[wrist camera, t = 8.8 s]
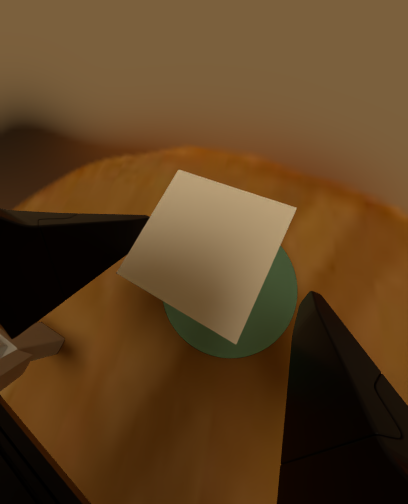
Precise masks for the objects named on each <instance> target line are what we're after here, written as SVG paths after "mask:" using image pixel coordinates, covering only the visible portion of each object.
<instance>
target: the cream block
mask: <svg viewBox="0 0 408 504" xmlns="http://www.w3.org/2000/svg"><path fill="white" fill-rule="evenodd" d="M296 209H297V208H295V207H292V206H289V205H286V204H283V203H280V202H277V201H274V200H271V199H268V198H264V197H261V196H258V195H255V194H252V193H249V192H246V191H243V190H240V189H237V188H234V187H231V186H228V185H224V184H221V183H218V182H215V181H212V180H209V179H206V178H203V177H200V176H197V175H194V174H191V173H187V172H184V171H181V170H178V172H177V173H176V175H175V177H174V178H173V180H172V182H171V183H170V185H169V187H168V188H167V190H166V191H165V193H164V195H163V196H162V198H161V200H160V201H159V203H158V205H157V206H156V208H155V210H154V211H153V213H152V215H151V216H150V218H149V220H148V221H147V223H146V225H145V226H144V228H143V230H142V231H141V233H140V235H139V236H138V238H137V240H136V241H135V243H134V245H133V246H132V248H131V250H130V251H129V253H128V255H127V256H126V258H125V260H124V261H123V263H122V265H121V266H120V268H119V269H118V271H117V274H119V275H120V276H122V277H124V278H125V279H127V280H129V281H130V282H132V283H134V284H135V285H137V286H139V287H140V288H142V289H144V290H145V291H147V292H149V293H150V294H152V295H154V296H155V297H157V298H159V299H160V300H162V301H164V302H165V303H167V304H169V305H170V306H172V307H174V308H175V309H177V310H179V311H181V312H182V313H184V314H186V315H187V316H189V317H191V318H192V319H194V320H196V321H197V322H199V323H201V324H202V325H204V326H206V327H207V328H209V329H211V330H212V331H214V332H216V333H217V334H219V335H221V336H222V337H224V338H226V339H227V340H229V341H231V342H232V343H234V344H237V342H238V339H239V337H240V335H241V333H242V330H243V328H244V326H245V324H246V321H247V319H248V317H249V315H250V312H251V310H252V308H253V306H254V303H255V301H256V299H257V297H258V294H259V292H260V290H261V287H262V285H263V283H264V281H265V278H266V276H267V274H268V272H269V269H270V267H271V265H272V263H273V260H274V258H275V256H276V254H277V251H278V249H279V247H280V245H281V242H282V240H283V238H284V236H285V233H286V231H287V229H288V227H289V224H290V222H291V220H292V218H293V215H294V213H295V211H296Z"/></svg>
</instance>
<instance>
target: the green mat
mask: <svg viewBox="0 0 408 504" xmlns="http://www.w3.org/2000/svg"><path fill="white" fill-rule="evenodd" d="M296 301H297V281H296V276H295V272H294V268H293V266H292V263H291V261H290V259H289V257H288V256H287V254H286V252H285V251H284V250H283V248H282V247H281V246H280V247H279V249H278V251H277V254H276V256H275V258H274V260H273V263H272V265H271V267H270V269H269V272H268V274H267V276H266V278H265V281H264V283H263V285H262V287H261V290H260V292H259V294H258V297H257V299H256V301H255V303H254V306H253V308H252V310H251V312H250V315H249V317H248V319H247V321H246V324H245V326H244V328H243V330H242V333H241V335H240V337H239V339H238V342H237V344H234V343H232V342H231V341H229V340H227V339H226V338H224V337H222V336H221V335H219V334H217V333H216V332H214V331H212V330H211V329H209V328H207V327H206V326H204V325H202V324H201V323H199V322H197V321H196V320H194V319H192V318H191V317H189V316H187V315H186V314H184V313H182V312H181V311H179V310H177V309H175V308H174V307H172V306H170V305H169V304H167V303H165V302H164V301H163V304H164V308H165V311H166V314H167V316H168V318H169V321H170V322H171V324H172V326H173V327H174V329H175V330H176V331H177V333H178V334H179V335H180V336H181V337H182V338H183V339H184V340H185V341H186V342H187V343H189V344H190V345H191V346H193V347H194V348H196V349H198V350H200V351H201V352H204V353H206V354H209V355H212V356H216V357H221V358H241V357H245V356H250V355H253V354H255V353H258V352H260V351H262V350H264V349H265V348H267V347H269V346H270V345H271V344H272V343H274V342H275V341H276V340H277V339H278V338H279V337H280V336H281V335H282V334H283V332H284V331H285V329H286V328H287V326H288V325H289V323H290V321H291V319H292V317H293V314H294V310H295V307H296Z"/></svg>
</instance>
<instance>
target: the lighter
mask: <svg viewBox="0 0 408 504" xmlns="http://www.w3.org/2000/svg"><path fill="white" fill-rule="evenodd" d="M63 342H64V338H63V337H62V336H60V335H59V334H58V333H56V332H55V331H53V330H52V329H50V328H49V327H47V326H46V325H45V324H43V323H42V322H40V323H35V324H33V325H32V326H31V327H29V328H28V329H27V330H25V331H24V332H23V333H21V334H20V335H19V336H17V337H16V338H14V339H11V338H10V337H9V336H8V335H7V334H6V333H5V332H4V331H3V330H2V329H1V328H0V391H1V390H3V389H4V388H5V387H7V386H8V385H9V384H11V383H12V382H13V381H15V380H16V379H17V378H19V377H20V376H21V375H22V374H23V373H24V371H25V369H26V368H27V366H28V364H29V362H30V361H33V360H37V359H40V358H44V357H47V356H51V355H54V354H57V353H58V351H59V349H60V348H61V346H62V344H63Z"/></svg>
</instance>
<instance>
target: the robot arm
mask: <svg viewBox="0 0 408 504" xmlns="http://www.w3.org/2000/svg"><path fill="white" fill-rule="evenodd" d="M149 218H150V217H149V216H147V215H118V214H77V213H49V212H31V211H14V210H6V209H0V328H1V329H2V330H3V331H4V332H5V333H6V334H7V335H8V336H9V337H10V338H11V339H14V338H16V337H17V336H19V335H20V334H21V333H23V332H24V331H25V330H27V329H28V328H29V327H31V326H32V325H33V324H35V323H36V322H37V321H39V320H40V319H41V318H43V317H44V316H45V315H47V314H48V313H49V312H51V311H52V310H53V309H55V308H56V307H57V306H59V305H60V304H61V303H63V302H64V301H65V300H67V299H68V298H69V297H71V296H72V295H73V294H75V293H76V292H77V291H79V290H80V289H81V288H83V287H84V286H85V285H87V284H88V283H89V282H91V281H92V280H93V279H95V278H96V277H97V276H99V275H100V274H101V273H103V272H104V271H105V270H107V269H108V268H109V267H111V266H112V265H113V264H115V263H116V262H117V261H119V260H120V259H121V258H123V257H124V256H126V255H127V254H128V253H129V251H130V250H131V248H132V246H133V245H134V243H135V241H136V240H137V238H138V236H139V235H140V233H141V231H142V230H143V228H144V226H145V225H146V223H147V221H148V220H149ZM0 504H91V503H90V502H89V501H88V500H87V498H86V497H85V496H84V495H83V494H82V492H81V491H80V490H79V489H78V488H77V486H76V485H75V484H74V483H73V482H72V480H71V479H70V478H69V477H68V476H67V474H66V473H65V472H64V471H63V470H62V468H61V467H60V466H59V465H58V464H57V462H56V461H55V460H54V459H53V458H52V456H51V455H50V454H49V453H48V452H47V450H46V449H45V448H44V447H43V446H42V444H41V443H40V442H39V441H38V440H37V438H36V437H35V436H34V435H33V434H32V433H31V431H30V430H29V429H28V428H27V427H26V425H25V424H24V423H23V422H22V421H21V419H20V418H19V417H18V416H17V415H16V413H15V412H14V411H13V410H12V409H11V407H10V406H9V405H8V404H7V403H6V401H5V400H4V399H3V398H2V397H1V395H0ZM277 504H408V406H407V404H406V403H405V402H404V401H403V399H402V398H401V397H400V396H399V394H398V393H397V392H396V391H395V389H394V388H393V387H392V385H391V384H390V383H389V382H388V380H387V379H386V378H385V376H384V375H383V374H381V371H380V370H379V369H378V367H377V366H376V365H375V364H374V362H373V361H372V360H371V358H370V357H369V356H368V355H367V353H366V352H365V351H364V349H363V348H362V347H361V346H360V344H359V343H358V342H357V340H356V339H355V338H354V337H353V335H352V334H351V333H350V331H349V330H348V329H347V328H346V326H345V325H344V324H343V322H342V321H341V320H340V319H339V317H338V316H337V315H336V313H335V312H334V311H333V310H332V308H331V307H330V306H329V304H328V303H327V302H326V301H325V299H324V298H323V297H322V295H320V294H318V293H316V292H314V291H310V292H309V293H308V294H307V296H306V297H305V298H304V299H303V301H302V302H301V304H300V306H299V309H298V313H297V318H296V322H295V326H294V330H293V335H292V345H291V356H290V367H289V378H288V389H287V400H286V411H285V422H284V433H283V444H282V455H281V466H280V475H279V486H278V497H277Z"/></svg>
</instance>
